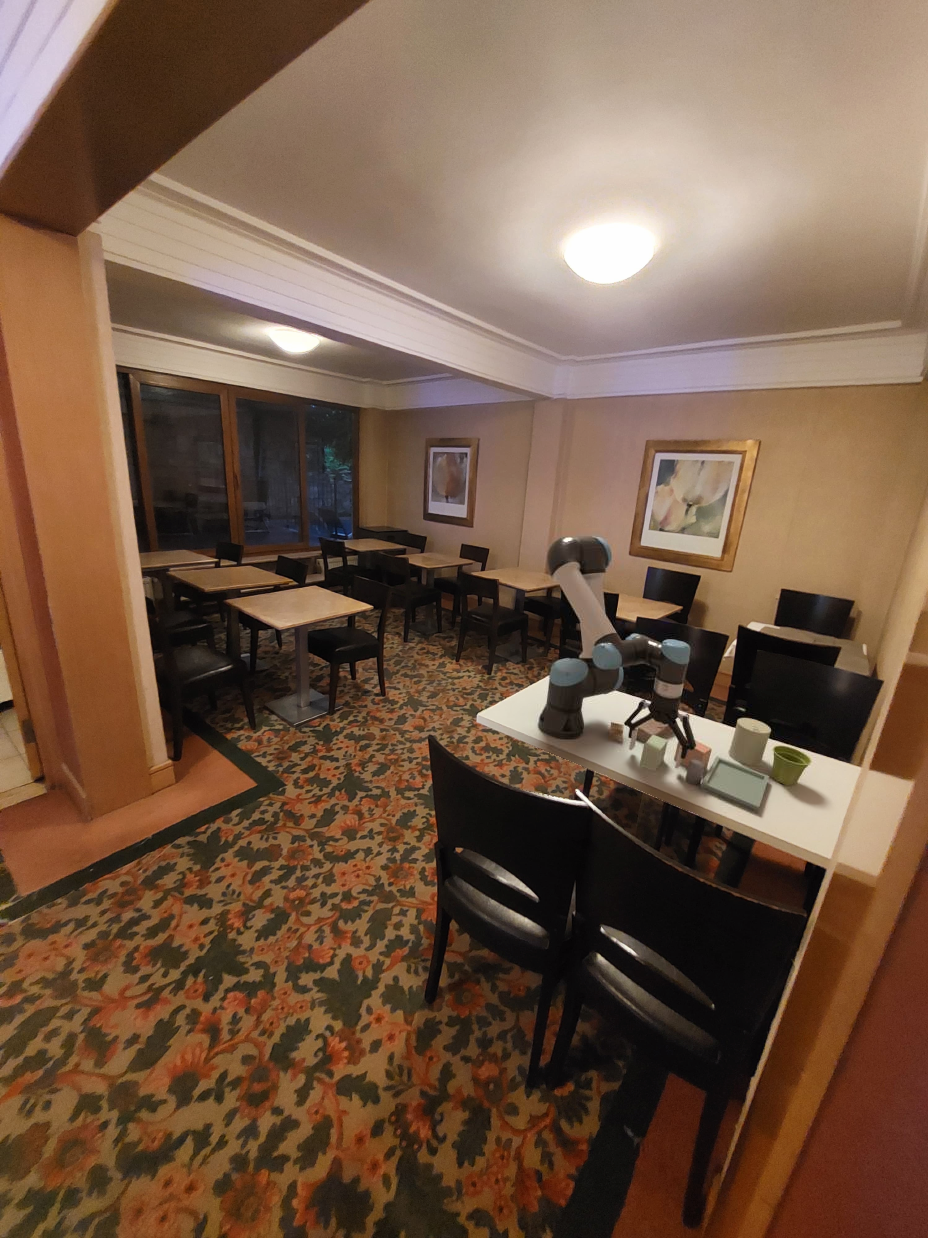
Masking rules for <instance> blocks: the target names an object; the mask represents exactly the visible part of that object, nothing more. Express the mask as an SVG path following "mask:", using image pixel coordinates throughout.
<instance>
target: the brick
mask: <svg viewBox="0 0 928 1238" xmlns="http://www.w3.org/2000/svg"><path fill="white" fill-rule="evenodd" d="M640 719H641V718H639V719H637V720H636V721H638V720H640ZM636 728H638V732H637V737H636V740H639V741H640V742H642V743H644V744H645V743H646V742H647V741H648V740H649V739H650V737H651V736H652V735H655V736H658V737H660V738H664V737H665V736H667V735H668V734H670V733H671V732H673V731H672V729H671V728H670V727H669V725H668V724H666V725H665V724H662V723H661V722H656V721H655V720H654V719H653V718H652V719H650V720H649V721H647V722H645V723H643V724H641V725H640V726H638V727H636Z"/></svg>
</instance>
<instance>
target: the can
mask: <svg viewBox="0 0 928 1238" xmlns="http://www.w3.org/2000/svg"><path fill="white" fill-rule="evenodd" d="M771 732H772V729H771V727H770V726H768V724H766V723H764V722H763V721H759V720H757V719H753V718H749V717H741V718H738V719H737V721H736V726H735V730H734V734H733V737H732V741H731V744H730V746H729V749H728V754H729V757H731V758H732V759H733V760H735V761H736V762H739V763H741V764H744V765H746V766H751V767H752V766H753V767H756V766H757V767H758V766H760V765H762V763H763V757H764V754H765V750H766V747H767V743H768V741H769V738H770V735H771Z"/></svg>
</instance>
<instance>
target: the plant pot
mask: <svg viewBox="0 0 928 1238" xmlns="http://www.w3.org/2000/svg"><path fill="white" fill-rule="evenodd" d="M772 751H773V761H772V762H773V763H772V769H771V778H772V779H773V780H775V781H776V782H778V783H781V784H783V785H785V786H789V787H794V786H796V784H797V783H798V782H799V779H800V777H802V774H803V773H804V771H805V769H806V768H808V766H809V765H811V763H812V762H813V761H812V759H811V758H810V756H808V755H807V754H806V753H804V752H803V751H801V750H799V749H796V748H794V747H790V746H787V745H781V744H780V745H779V744H778V745H774V746H773V747H772Z"/></svg>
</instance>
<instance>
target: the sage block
mask: <svg viewBox="0 0 928 1238" xmlns="http://www.w3.org/2000/svg"><path fill="white" fill-rule="evenodd" d="M668 742H669V740H667V739H665V738H664V737H662V738H660V737H658V736H655V735H652V736H651V737H650V739H649V740H648V741H647V742H646V743H644V744H643V747H642V752H641V757H640V761H639V762H640V763H639V766H641V767H644V768H646V769H648V770H651V771H653V772H656V771H657V769H658V768H659V767H660V765H661V764H662V762H664V760H665V759H664V758H665V755H666V749H667V745H668Z"/></svg>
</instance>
